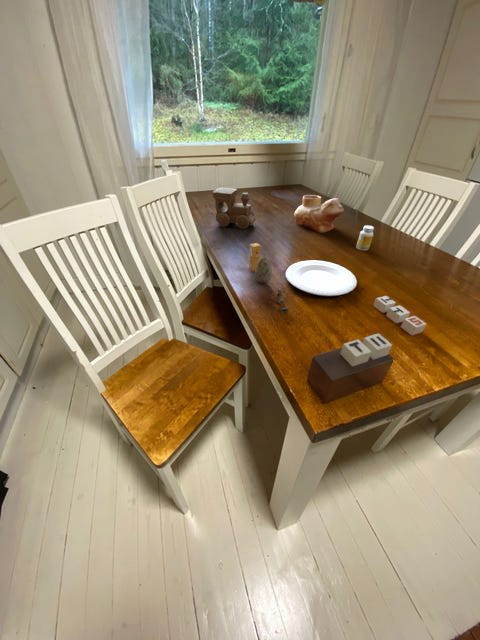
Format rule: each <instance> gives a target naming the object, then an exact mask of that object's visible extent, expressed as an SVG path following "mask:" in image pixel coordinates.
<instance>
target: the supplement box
mask: <svg viewBox="0 0 480 640" xmlns="http://www.w3.org/2000/svg"><path fill="white" fill-rule="evenodd" d="M248 245H249V246H248V247H249V251H248V252H249V258H248V259H249V263H248V265H249V270H250V271H251V272H252V273H254V272H255V269H256V266H257V263H258V261H259V260H260V259H261V249H262V248H261V247H262V245H261V244H259V243H258V242H255V243H250V244H248Z"/></svg>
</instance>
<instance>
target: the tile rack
mask: <svg viewBox="0 0 480 640" xmlns="http://www.w3.org/2000/svg"><path fill="white" fill-rule="evenodd" d="M361 342H363V340H362V341H361ZM341 350H342V347H339V348H336V349H333V350H329V351H326V352H323V353H320V354H319V353H318V354H315V355H312V358H311V362H310V365H309V370H308V374H307V376H306V377H307V378H306V381H307V383H308V384H309V385H310V387H311V388H312V389H313V391H314V392H315V393H316V395H317V396H318V398H319V399H320V400H321V401H322V403H323V404H324V405H325V404H328V403H330V402H334V401H336V400H338V399H339V400H340V399H341V398H344V397H348V396H350V395H353V394H355V393H358V392H361V391H363V390H366V389H369V388H372V387H374V386H377V385H380V384H383V382H384V380H385V378H386V376H387V375H388V373H389V370H390V369H391V367H392V365H393V362H394V361H395V358H394V357H393V356H392V355H391V354H389V353H388V355H386V356H383V357H380V358H377V359H374V360H373V359H372V358H371V357H369V359H368V361H367V362H365V363H362V364H359V365H356V366H353V367H352V366H351V365H350V364H349V363H348V362H347V361H346V360H345V358H344V357H343V356H342V355H341V354H340V353H341Z"/></svg>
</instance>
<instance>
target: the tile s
mask: <svg viewBox="0 0 480 640" xmlns="http://www.w3.org/2000/svg"><path fill="white" fill-rule="evenodd" d="M426 326H427V323H426V322H425V321H423V320H422V319H421V318H419V317H417V316H416V315H413V316H408V318H406V319H404V321H403V322H401V325H400V328H401V329H402V330H404V332H406V333H408V334H409V335H410V336H415V335H417V334H420V333H423V332H424V330H425V328H426Z"/></svg>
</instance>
